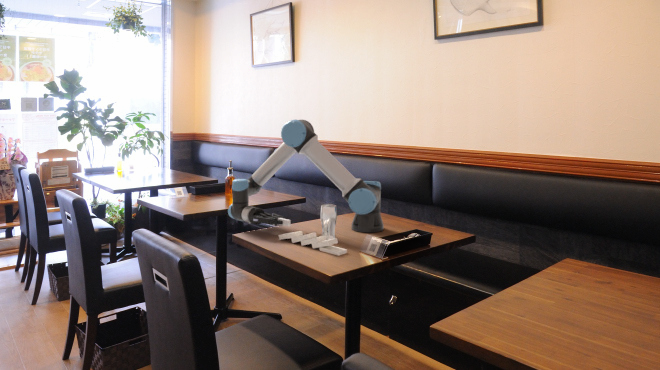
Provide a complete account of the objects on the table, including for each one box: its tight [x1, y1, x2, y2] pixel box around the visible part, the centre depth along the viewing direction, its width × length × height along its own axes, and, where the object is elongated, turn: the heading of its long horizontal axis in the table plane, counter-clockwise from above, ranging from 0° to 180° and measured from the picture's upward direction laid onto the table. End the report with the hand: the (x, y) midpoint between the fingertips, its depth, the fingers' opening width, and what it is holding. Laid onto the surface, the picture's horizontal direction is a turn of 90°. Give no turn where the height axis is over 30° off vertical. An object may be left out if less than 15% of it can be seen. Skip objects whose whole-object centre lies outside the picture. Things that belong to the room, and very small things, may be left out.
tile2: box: [290, 231, 318, 244], centre depth 203 cm, size 2×5×10 cm
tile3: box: [300, 235, 327, 247], centre depth 199 cm, size 2×5×10 cm
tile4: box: [311, 237, 339, 249], centre depth 195 cm, size 2×5×10 cm
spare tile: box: [278, 230, 304, 241], centre depth 208 cm, size 2×5×10 cm
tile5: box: [319, 245, 348, 256], centre depth 192 cm, size 2×5×10 cm
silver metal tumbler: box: [320, 203, 338, 240], centre depth 209 cm, size 7×7×15 cm
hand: (289, 223), depth 208 cm, fingers closed
